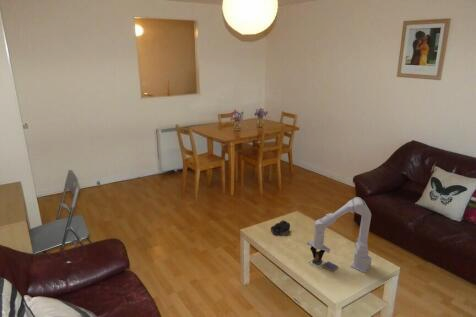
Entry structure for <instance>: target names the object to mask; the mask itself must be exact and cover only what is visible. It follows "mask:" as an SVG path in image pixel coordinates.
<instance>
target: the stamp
mask: <svg viewBox="0 0 476 317" xmlns="http://www.w3.org/2000/svg"><path fill="white" fill-rule="evenodd" d="M319 251H320V250H317V251H316V252H315V259H314V260H313V261H312V263H313V264H316V265H318V266H319V265H320V264H321V263H322V260H323V259H321V260H319Z"/></svg>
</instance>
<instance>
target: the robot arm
mask: <svg viewBox="0 0 476 317" xmlns="http://www.w3.org/2000/svg"><path fill="white" fill-rule="evenodd" d="M347 213H351V214H358V215H360V216H361V220H360V226H359V231H358V232H359V233H358V237H357V238H356V239H357V240H356V241H355V243H354V247H355V250H354V256H353V263H352V264H350V267H351V268H354V269H355V270H357V271H360V272H362V273H364V274H366V273H367V272H368V271H369V270H370V269H371V268H372V257H371V256H369V253H370V252H369V250H368V246H369V245H368V240H369V233H370V232H369V231H370V226H371V219H372V213H371V210H370V208H369V207H368V205H367V203H366V202H365V200H364V199H362V198H361V197H358V196H356V197H353V198H352V199H350V200H349V201H347V202H346V203H345V204H344V205H342V206H341V207H340V208H338V209H337V210H336V211H334V213H333V212H329V213H326V215H325V216H323V217H322V218H319V219H317V220H315V221H314V235H313V241H310V240H307V241H306V246H310V248H309V249H310V252H312V257H313V258H315V252H316V251H319V260H323V259H322V258H323V256H324V254H325V252H326V253H327V254H329V253H330V252H331V248H329V247H327V246H326V245H324V244H325V243H324V241H325V231H326V230H327V229H326V228H328V227H330V226H331V225H333V224H335V223H336V222H337V219H338V218H340V217H343V215H345V214H347ZM313 258H312V259H313Z"/></svg>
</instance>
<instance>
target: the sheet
mask: <svg viewBox="0 0 476 317" xmlns="http://www.w3.org/2000/svg"><path fill="white" fill-rule="evenodd" d="M314 259H315V258H311V259H310V260H309V261H307V262H306V263H307V264H308V265H310V266H313V267H314V268H316V269H318V270H321V269H322V268H324V267H323V265H324V264H325V263H327V262H328V261H325V260H323V259H321V260H322V263H321V264H320V265H319V266H318V265H316V264H313V263H312V261H313V260H314Z"/></svg>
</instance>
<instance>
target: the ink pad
mask: <svg viewBox="0 0 476 317" xmlns="http://www.w3.org/2000/svg"><path fill="white" fill-rule="evenodd" d="M326 262H327V263H325V264H324V265H323V267H322V268H324V269H326V270H328V271H330V272H332V273H333V272H335V271H336V270H337V269H338V268H339V265H337V264H335V263H333V262H331V261H328V260H327V261H326Z"/></svg>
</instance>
